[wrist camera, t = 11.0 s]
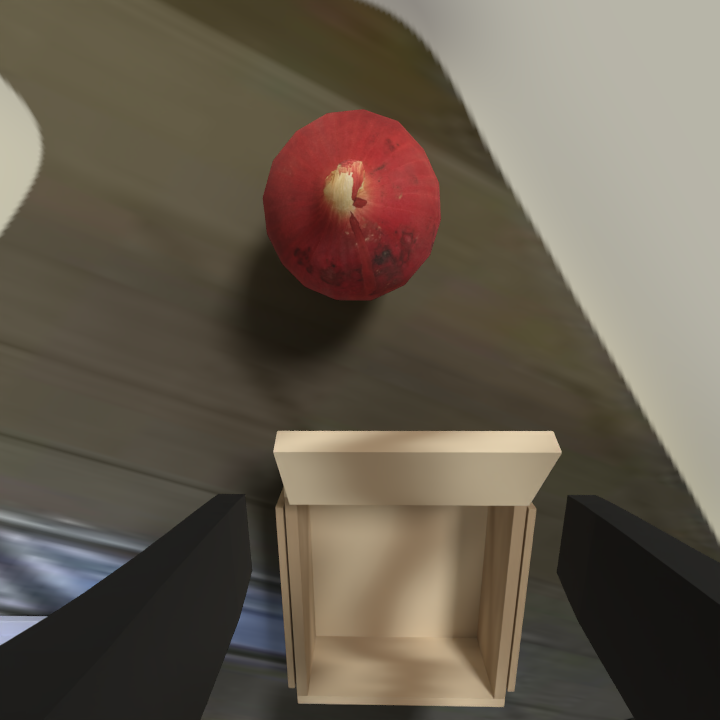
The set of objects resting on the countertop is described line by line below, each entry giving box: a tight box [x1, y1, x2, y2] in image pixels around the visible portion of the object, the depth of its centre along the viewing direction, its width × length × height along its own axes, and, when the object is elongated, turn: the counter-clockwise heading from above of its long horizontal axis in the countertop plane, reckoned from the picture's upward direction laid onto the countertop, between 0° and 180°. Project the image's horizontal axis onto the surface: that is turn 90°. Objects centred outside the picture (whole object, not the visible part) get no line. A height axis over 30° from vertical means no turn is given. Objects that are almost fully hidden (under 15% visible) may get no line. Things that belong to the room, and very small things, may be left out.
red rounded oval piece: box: [263, 109, 441, 300], centre depth 13 cm, size 6×6×8 cm
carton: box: [275, 486, 536, 707], centre depth 19 cm, size 11×12×4 cm
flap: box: [273, 431, 562, 506], centre depth 14 cm, size 9×4×1 cm, turn 90°
